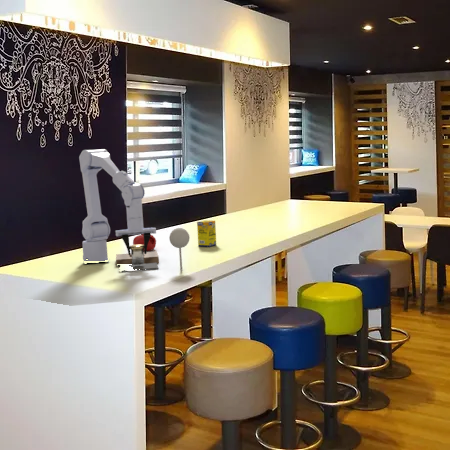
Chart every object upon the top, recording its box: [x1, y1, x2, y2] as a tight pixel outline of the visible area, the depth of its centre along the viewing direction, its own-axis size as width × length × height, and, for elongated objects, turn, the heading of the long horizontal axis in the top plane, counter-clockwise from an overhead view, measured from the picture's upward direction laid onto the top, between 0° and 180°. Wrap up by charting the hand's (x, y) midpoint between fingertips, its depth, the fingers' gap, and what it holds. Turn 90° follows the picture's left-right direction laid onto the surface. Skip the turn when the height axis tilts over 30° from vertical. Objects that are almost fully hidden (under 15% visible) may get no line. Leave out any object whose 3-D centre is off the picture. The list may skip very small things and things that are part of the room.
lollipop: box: [169, 227, 190, 271], centre depth 218 cm, size 7×7×15 cm
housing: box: [115, 250, 160, 264], centre depth 238 cm, size 16×12×2 cm
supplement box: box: [196, 220, 217, 248], centre depth 267 cm, size 6×6×11 cm
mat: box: [129, 263, 159, 271], centre depth 226 cm, size 14×10×1 cm
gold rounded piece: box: [129, 244, 144, 265], centre depth 225 cm, size 5×5×6 cm
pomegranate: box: [132, 234, 157, 252], centre depth 264 cm, size 10×10×9 cm
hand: (137, 254), depth 225 cm, fingers closed on gold rounded piece, 5 cm apart
